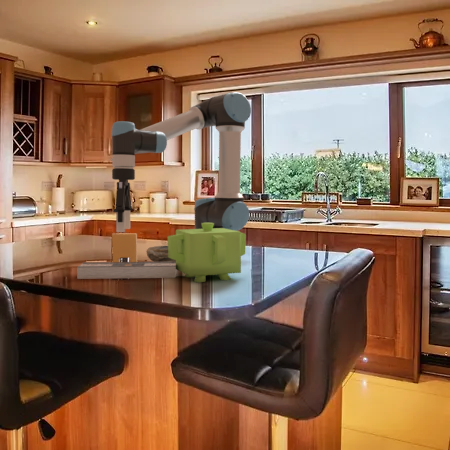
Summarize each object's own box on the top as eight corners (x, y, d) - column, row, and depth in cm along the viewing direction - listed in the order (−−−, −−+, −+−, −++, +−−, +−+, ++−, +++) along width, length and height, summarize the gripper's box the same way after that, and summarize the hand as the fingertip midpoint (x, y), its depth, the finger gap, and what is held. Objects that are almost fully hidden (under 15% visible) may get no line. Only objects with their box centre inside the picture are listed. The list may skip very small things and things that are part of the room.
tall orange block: (137, 267, 167) (136, 233, 166) (136, 269, 164) (135, 234, 163) (114, 267, 167) (113, 233, 166) (112, 269, 164) (112, 234, 163)
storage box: (180, 288, 134) (180, 226, 133) (158, 274, 155) (158, 221, 154) (260, 281, 144) (260, 224, 143) (229, 269, 165) (229, 219, 164)
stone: (157, 258, 167) (150, 235, 172) (146, 274, 174) (140, 252, 179) (191, 258, 174) (183, 236, 180) (179, 274, 181) (173, 253, 186)
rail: (176, 273, 157) (176, 261, 157) (175, 277, 149) (175, 265, 149) (83, 274, 155) (82, 262, 155) (77, 278, 147) (77, 266, 147)
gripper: (118, 169, 175) (118, 227, 177) (105, 166, 150) (105, 233, 152) (138, 169, 176) (138, 227, 177) (129, 166, 151) (129, 233, 152)
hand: (123, 230), depth 164 cm, fingers open, 13 cm apart
